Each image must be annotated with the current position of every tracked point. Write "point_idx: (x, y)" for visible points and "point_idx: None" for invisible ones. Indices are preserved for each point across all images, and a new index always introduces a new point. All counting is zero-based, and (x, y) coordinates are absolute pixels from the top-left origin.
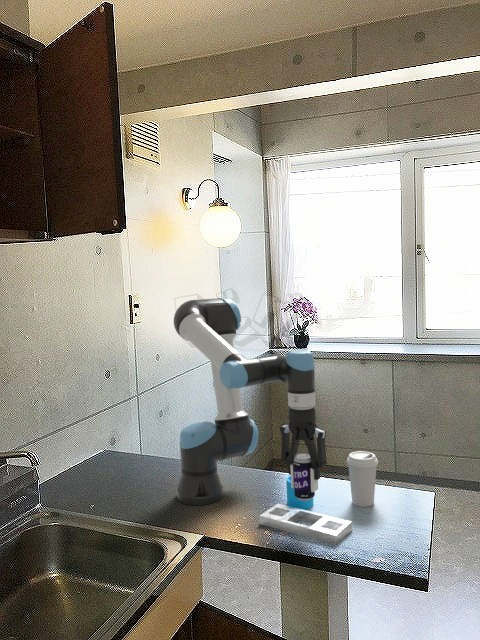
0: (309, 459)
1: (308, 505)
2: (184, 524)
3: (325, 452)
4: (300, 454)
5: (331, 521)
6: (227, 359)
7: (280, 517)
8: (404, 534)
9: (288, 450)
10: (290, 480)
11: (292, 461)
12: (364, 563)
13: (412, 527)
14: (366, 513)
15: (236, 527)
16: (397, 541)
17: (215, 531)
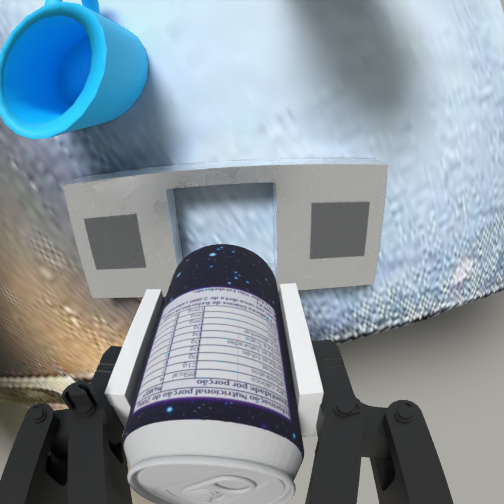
0: (288, 488)
1: (141, 83)
2: (13, 357)
3: (446, 494)
4: (149, 474)
5: (325, 206)
6: None
7: (149, 276)
8: (492, 116)
9: (45, 477)
10: (13, 86)
11: (115, 434)
12: (440, 301)
13: (495, 66)
14: (359, 9)
15: (79, 325)
16: (487, 164)
17: (69, 358)
